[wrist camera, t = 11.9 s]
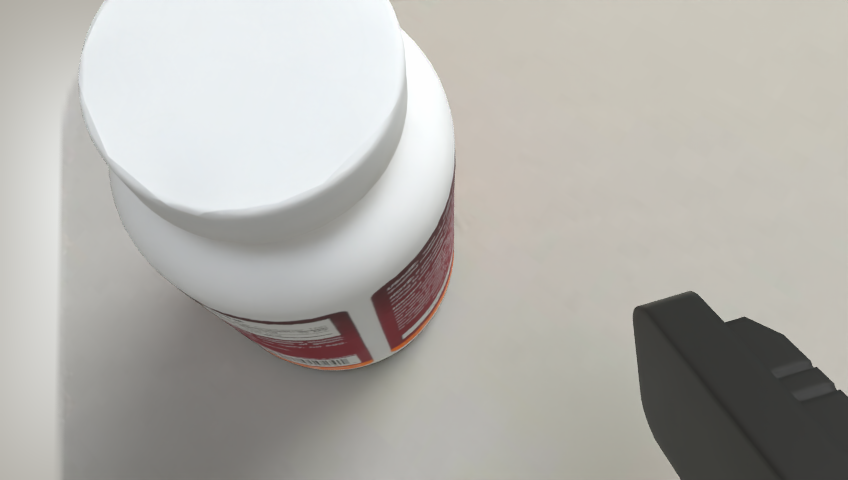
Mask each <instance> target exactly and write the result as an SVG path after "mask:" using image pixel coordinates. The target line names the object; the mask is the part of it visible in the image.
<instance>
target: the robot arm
mask: <svg viewBox="0 0 848 480" xmlns="http://www.w3.org/2000/svg"><path fill="white" fill-rule="evenodd" d="M633 326H634V336H635V345H636V354H637V364H638V373H639V382H640V392H641V400H642V405H643V409H644V412H645V415H646V419H647V421H648V424H649V427H650V429H651V431H652V433H653V436H654V438H655V440H656V441H657V443H658V445H659V446H660V448H661V450H662V451H663V453H664V454H665V456H666V457H667V459H668V460H669V462H670V463H671V465H672V466H673V468H674V469H675V471H676V473H677V474H678V476H679V477H680V479H681V480H848V397H847V396H846V395H845V394H844V393H843V392H842V391H841V390H838V391H837V390H836V388H835V385H834V383H833V382H832V381H831V380H830V379H829V378H828V377H827V376H826V375H825V374H824V373H823V372H822V371H821V370H819V369H818V368H817V367H815V368H814V367H813V366H812V364H811V361H810V360H809V359H808V358H807V357H806V356H805V355H804V354H803V353H802V352H801V351H800V350H799V349H798V348H797V347H796V346H795V345H794V344H792V343H791V342H790V341H789V340H788V339H787V338H786V337H785V336H784V335H783V334H781V333H778V332H776V331H774V330H772V329H770V328H768V327H766V326H763V325H761V324H759V323H757V322H755V321H753V320H751V319H748V318H746V317H742V318H739V319H735V320H732V321H729V322H725V323H724V321H723V320H722V319H721V318H720V317H719V316H718V315H717V314H716V313H715V312H714V311H713V310H712V309H711V308H710V307H709V306H708V305H707V303H706V302H705V301H704V300H703V299H702V298H701V297H700V296H699V295H698V294H696V293H695V292H692V291H688V292H685V293H682V294H678V295H675V296H671V297H668V298H665V299H661V300H658V301H654V302H651V303H648V304H644V305H641V306H638V307H636V308H635V309H634V312H633Z"/></svg>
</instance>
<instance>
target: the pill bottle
mask: <svg viewBox="0 0 848 480" xmlns="http://www.w3.org/2000/svg"><path fill="white" fill-rule="evenodd" d="M78 85H79V97H80V105H81V111H82V116H83V119H84V122H85V125H86V128H87V130H88V132H89V135H90V137H91V140H92V141H93V143H94V145H95V147H96V148H97V150H98V152H99V153H100V155H101V156H102V158H103V159H104V161H105V162H106V164H107V165H108V168H109V177H110V185H111V189H112V194H113V198H114V202H115V205H116V208H117V211H118V213H119V216H120V219H121V221H122V223H123V225H124V227H125V229H126V231H127V232H128V234H129V236H130V237H131V239H132V241H133V242H134V244H135V246H136V247H137V248H138V250H139V251H140V253H141V254H142V255H143V256H144V257H145V258H146V260H147V261H148V262H149V263H150V264H151V265H152V266H153V267H154V268H155V269H156V270H157V271H158V272H159V273H160V274H161V275H162V276H163V277H164V278H166V279H167V280H168V281H169V282H170V283H172V284H173V285H174V286H176V287H177V288H178V289H179V290H181V291H182V292H183V293H185V294H186V295H187V296H189V297H190V298H192V299H193V300H195V301H196V302H198V303H199V304H201V305H202V306H204V307H205V308H206V309H207V310H209V311H210V312H212V313H214V314H215V315H216V316H218V317H219V318H221V319H222V320H223V321H225V322H226V323H228V324H229V325H231V326H232V327H234V328H235V329H236V330H238V331H239V332H241V333H242V334H243V335H245V336H246V337H248V338H249V339H251V340H252V341H253V342H255V343H256V344H258V345H259V346H261V347H262V348H263V349H265V350H266V351H268V352H270V353H271V354H273V355H275V356H277V357H279V358H281V359H283V360H286V361H289V362H291V363H294V364H297V365H300V366H304V367H307V368H313V369H319V370H347V369H354V368H359V367H363V366H367V365H370V364H373V363H376V362H378V361H381V360H383V359H385V358H387V357H389V356H391V355H393V354H395V353H396V352H398V351H399V350H401V349H402V348H404V347H405V346H407V345H408V344H409V343H410V342H411V341H412V340H414V339H415V338H416V337H417V336H418V335H419V334H420V332H421V331H422V330H423V329H424V328H425V327H426V326H427V324H428V323H429V322H430V320H431V319H432V318H433V316H434V315H435V313H436V311H437V310H438V308H439V306H440V304H441V302H442V300H443V298H444V296H445V293H446V291H447V288H448V285H449V280H450V276H451V272H452V266H453V258H454V180H455V141H454V128H453V120H452V115H451V110H450V107H449V103H448V100H447V97H446V94H445V91H444V89H443V86H442V84H441V82H440V79H439V77H438V76H437V74H436V72H435V70H434V68H433V66H432V65H431V63H430V62H429V60H428V59H427V57H426V56H425V54H424V53H423V52H422V51H421V49H420V48H419V47H418V46H417V44H416V43H415V42H414V41H413V40H412V39H411V38H410V37H409V36H408V35H407V34H406V33H405V32H404V31H403V30H402V29H401V28H400V25H399V22H398V19H397V17H396V14H395V12H394V9H393V7H392V5H391V3H390V1H389V0H105V1H104V2H103V4H102V5H101V7H100V8H99V10H98V12H97V14H96V15H95V17H94V19H93V21H92V23H91V25H90V28H89V30H88V33H87V36H86V39H85V42H84V45H83V49H82V53H81V59H80V64H79V78H78Z"/></svg>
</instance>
